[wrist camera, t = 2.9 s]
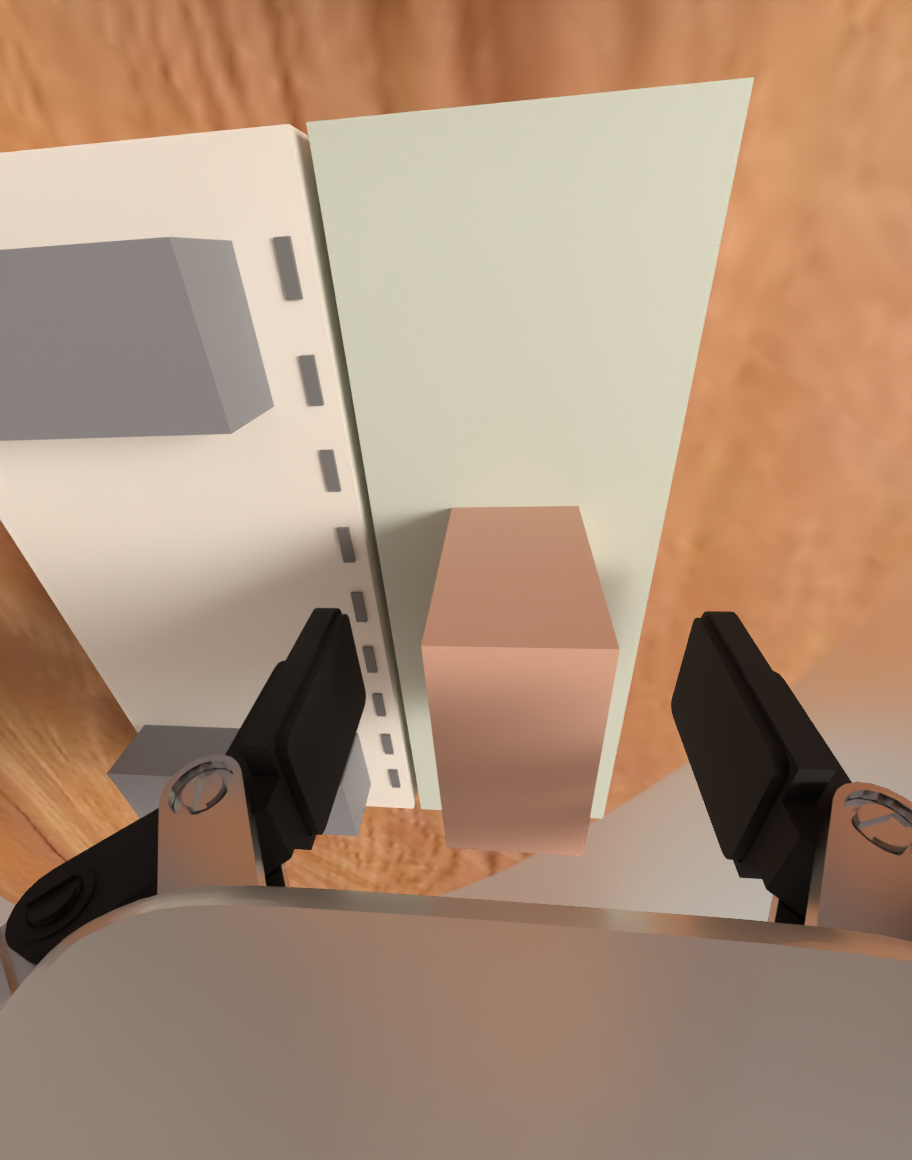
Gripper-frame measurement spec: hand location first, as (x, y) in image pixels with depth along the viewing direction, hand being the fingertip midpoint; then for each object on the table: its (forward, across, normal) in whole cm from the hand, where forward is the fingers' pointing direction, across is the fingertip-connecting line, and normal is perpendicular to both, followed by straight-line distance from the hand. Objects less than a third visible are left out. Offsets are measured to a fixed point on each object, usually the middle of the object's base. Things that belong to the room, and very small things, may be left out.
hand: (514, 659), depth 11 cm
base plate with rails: (+4, +9, 0) cm, 9 cm away
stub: (+4, 0, 0) cm, 4 cm away
